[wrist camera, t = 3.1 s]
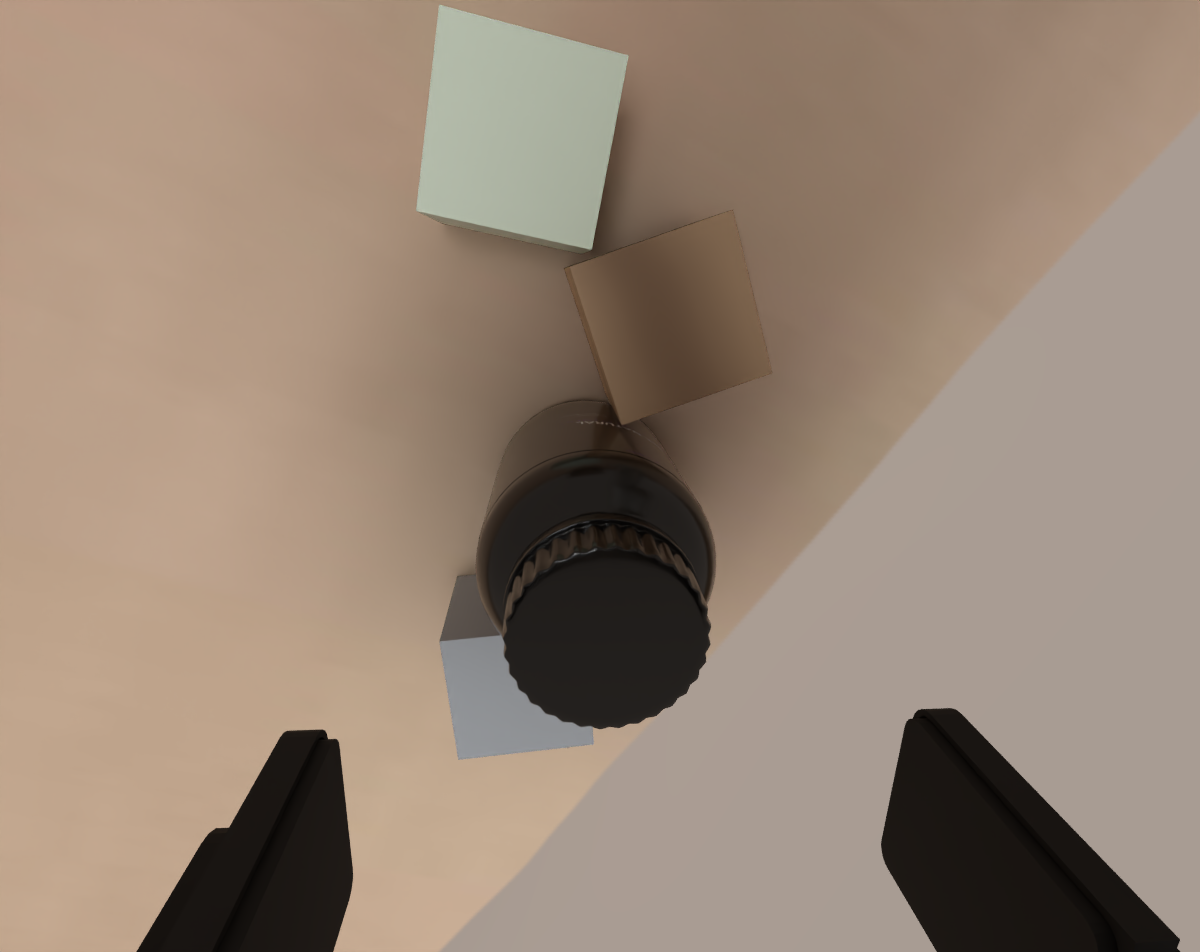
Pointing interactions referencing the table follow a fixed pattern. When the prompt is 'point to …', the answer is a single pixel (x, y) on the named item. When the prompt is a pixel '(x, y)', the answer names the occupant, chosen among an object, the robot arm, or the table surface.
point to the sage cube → (518, 131)
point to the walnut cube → (671, 318)
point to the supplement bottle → (596, 568)
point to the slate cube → (492, 688)
